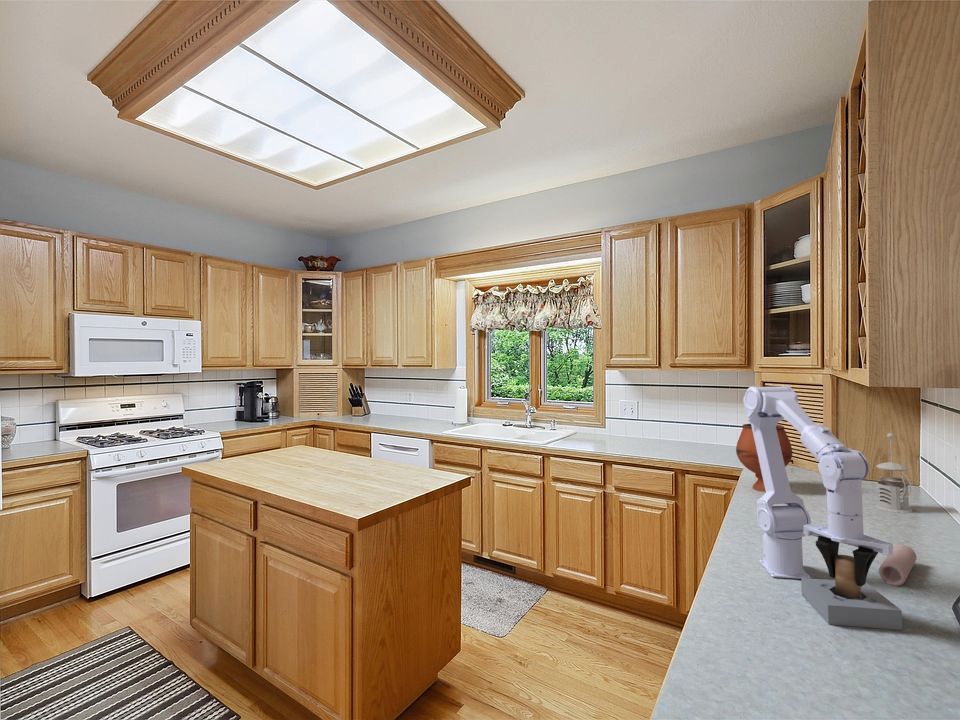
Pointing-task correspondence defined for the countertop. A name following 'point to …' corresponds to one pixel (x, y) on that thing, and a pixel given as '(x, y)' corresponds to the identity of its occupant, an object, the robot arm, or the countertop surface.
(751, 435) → the goblet
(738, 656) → the countertop surface
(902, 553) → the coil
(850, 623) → the bore block
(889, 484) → the french press
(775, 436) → the robot arm
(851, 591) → the walnut pin
